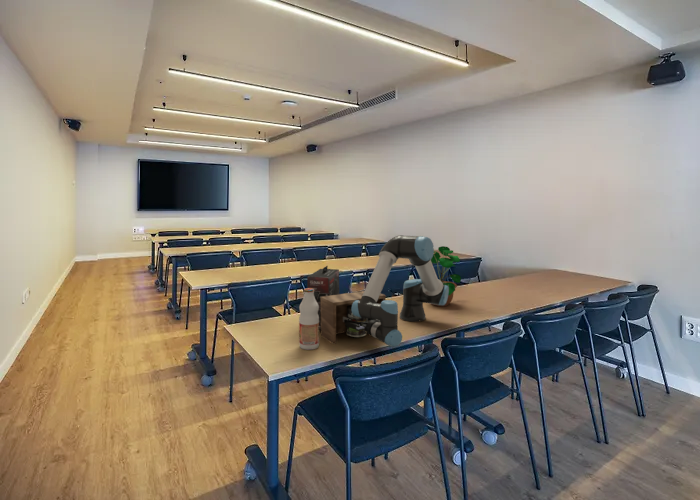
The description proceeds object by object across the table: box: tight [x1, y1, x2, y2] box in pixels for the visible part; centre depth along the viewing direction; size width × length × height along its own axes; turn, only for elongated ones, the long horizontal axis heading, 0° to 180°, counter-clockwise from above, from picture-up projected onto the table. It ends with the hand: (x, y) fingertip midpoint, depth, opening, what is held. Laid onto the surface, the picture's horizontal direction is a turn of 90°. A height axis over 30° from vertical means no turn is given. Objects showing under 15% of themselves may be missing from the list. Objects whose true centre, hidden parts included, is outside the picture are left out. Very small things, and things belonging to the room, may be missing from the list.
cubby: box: [320, 290, 387, 345], centre depth 200 cm, size 31×14×20 cm, turn 121°
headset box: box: [306, 265, 340, 332], centre depth 216 cm, size 24×13×33 cm, turn 168°
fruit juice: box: [298, 288, 320, 351], centre depth 182 cm, size 9×9×28 cm
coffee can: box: [345, 305, 367, 338], centre depth 197 cm, size 10×10×14 cm
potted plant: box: [431, 246, 462, 307], centre depth 259 cm, size 31×29×40 cm
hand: (352, 317), depth 200 cm, fingers closed on coffee can, 10 cm apart
